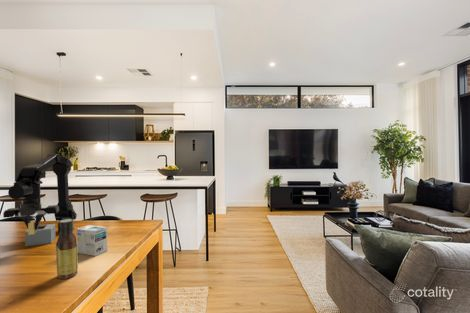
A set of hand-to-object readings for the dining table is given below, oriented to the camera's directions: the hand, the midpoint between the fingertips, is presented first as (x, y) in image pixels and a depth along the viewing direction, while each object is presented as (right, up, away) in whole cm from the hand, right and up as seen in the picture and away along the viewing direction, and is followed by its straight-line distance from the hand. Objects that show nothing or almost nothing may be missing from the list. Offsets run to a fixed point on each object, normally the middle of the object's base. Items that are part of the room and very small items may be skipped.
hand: (32, 230), depth 115 cm
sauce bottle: (+30, -10, -23) cm, 39 cm away
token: (0, -1, 0) cm, 1 cm away
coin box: (-5, -9, +11) cm, 15 cm away
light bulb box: (+27, -9, -1) cm, 29 cm away
